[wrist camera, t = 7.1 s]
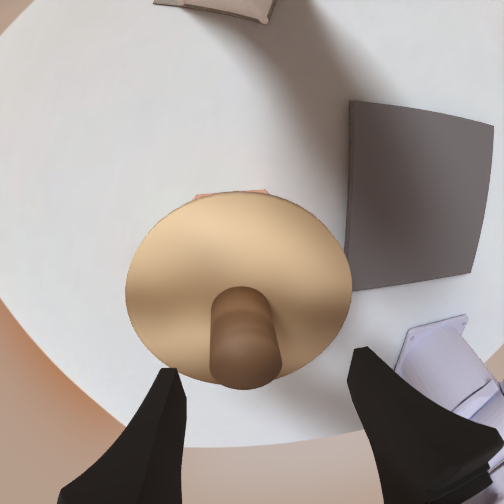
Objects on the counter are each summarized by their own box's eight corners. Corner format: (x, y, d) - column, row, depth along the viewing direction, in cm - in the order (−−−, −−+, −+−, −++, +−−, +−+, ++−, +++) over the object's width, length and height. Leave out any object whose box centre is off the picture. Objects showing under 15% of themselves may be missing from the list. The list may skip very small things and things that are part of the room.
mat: (465, 268, 23) (470, 272, 22) (340, 286, 22) (343, 292, 21) (487, 124, 17) (493, 126, 16) (349, 101, 16) (354, 101, 16)
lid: (330, 367, 19) (351, 422, 15) (152, 377, 18) (142, 436, 14) (360, 190, 14) (411, 225, 10) (110, 199, 13) (65, 239, 9)
